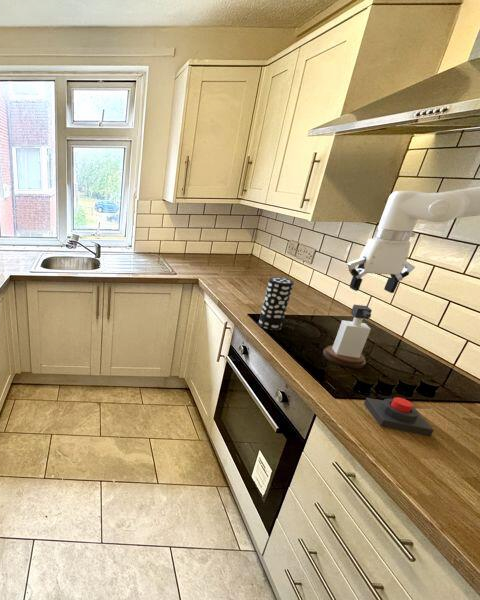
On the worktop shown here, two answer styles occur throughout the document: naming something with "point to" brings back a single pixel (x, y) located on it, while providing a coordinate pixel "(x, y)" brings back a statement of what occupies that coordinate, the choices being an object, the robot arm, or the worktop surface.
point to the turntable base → (342, 363)
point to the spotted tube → (275, 303)
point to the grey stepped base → (397, 417)
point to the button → (402, 404)
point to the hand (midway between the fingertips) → (371, 290)
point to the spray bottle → (351, 337)
